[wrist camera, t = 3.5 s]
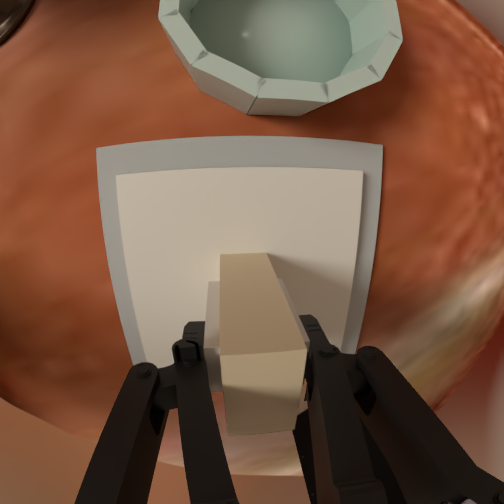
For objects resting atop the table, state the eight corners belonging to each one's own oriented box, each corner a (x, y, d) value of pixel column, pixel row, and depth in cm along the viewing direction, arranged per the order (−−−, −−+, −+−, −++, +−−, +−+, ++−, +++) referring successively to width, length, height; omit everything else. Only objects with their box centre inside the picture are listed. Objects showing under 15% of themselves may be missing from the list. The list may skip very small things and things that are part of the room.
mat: (139, 376, 24) (138, 380, 23) (99, 148, 17) (96, 148, 16) (349, 364, 25) (351, 368, 25) (378, 144, 19) (382, 145, 18)
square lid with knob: (152, 368, 22) (128, 475, 12) (119, 174, 17) (16, 205, 7) (334, 358, 24) (382, 453, 14) (357, 169, 18) (473, 197, 8)
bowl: (174, 117, 17) (152, 102, 11) (183, -30, 13) (174, -74, 7) (361, 123, 18) (408, 116, 12) (349, -17, 14) (381, -51, 8)
